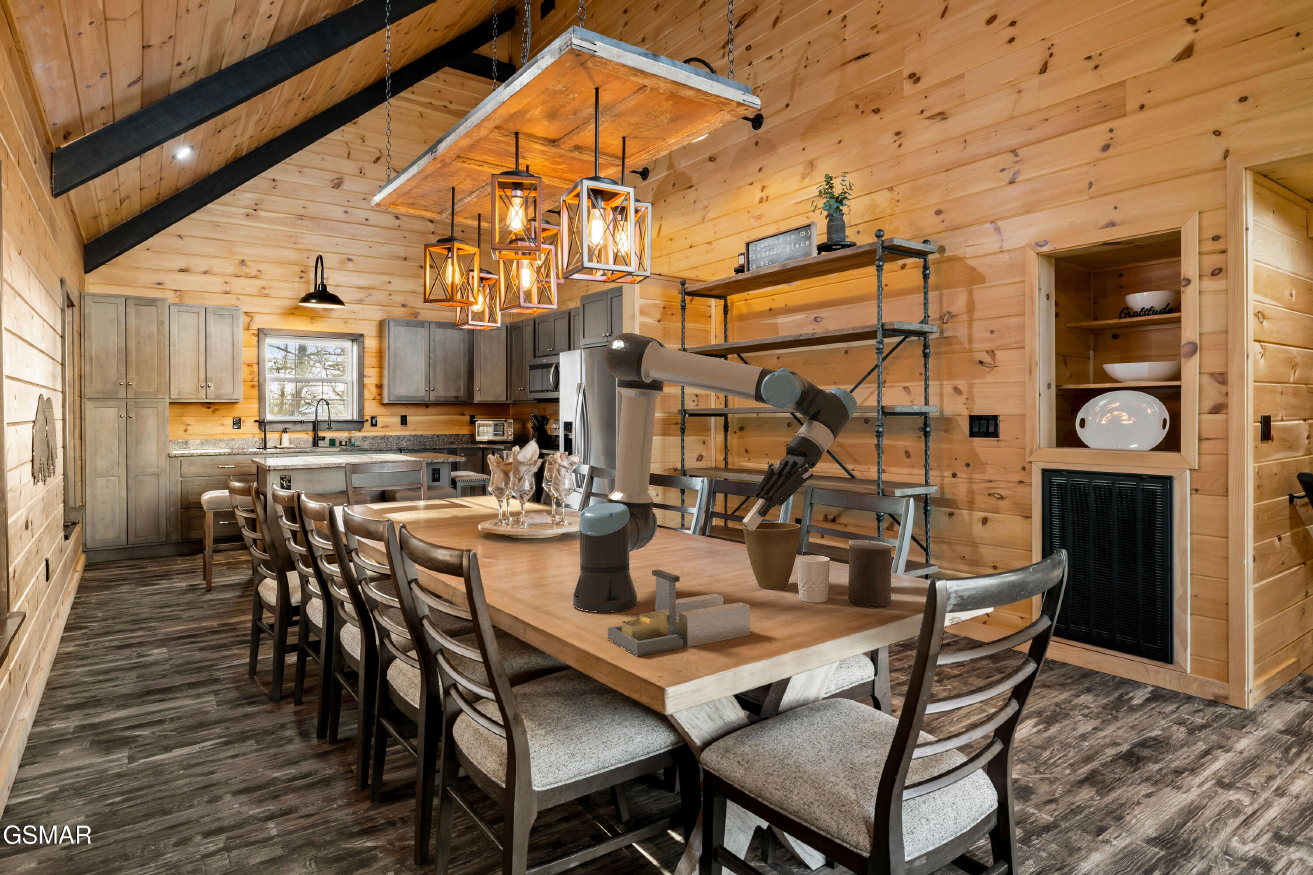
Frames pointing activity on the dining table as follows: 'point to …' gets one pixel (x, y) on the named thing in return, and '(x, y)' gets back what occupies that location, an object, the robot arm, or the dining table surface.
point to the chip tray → (644, 642)
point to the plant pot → (772, 552)
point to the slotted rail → (709, 620)
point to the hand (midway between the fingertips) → (748, 526)
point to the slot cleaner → (666, 593)
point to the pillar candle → (869, 574)
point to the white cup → (813, 578)
